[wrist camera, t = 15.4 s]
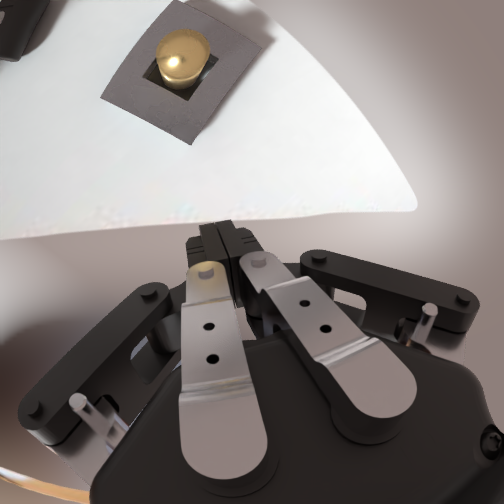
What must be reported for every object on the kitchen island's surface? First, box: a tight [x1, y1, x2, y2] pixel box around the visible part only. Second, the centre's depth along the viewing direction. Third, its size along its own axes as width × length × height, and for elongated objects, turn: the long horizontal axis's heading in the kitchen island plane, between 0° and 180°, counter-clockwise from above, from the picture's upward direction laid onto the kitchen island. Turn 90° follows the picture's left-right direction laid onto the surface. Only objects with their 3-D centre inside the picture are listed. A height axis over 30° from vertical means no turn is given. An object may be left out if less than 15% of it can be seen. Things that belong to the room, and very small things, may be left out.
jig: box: [100, 0, 262, 145], centre depth 25 cm, size 12×14×4 cm
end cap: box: [0, 0, 50, 62], centre depth 13 cm, size 10×7×7 cm
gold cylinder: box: [156, 29, 210, 90], centre depth 22 cm, size 4×4×11 cm
